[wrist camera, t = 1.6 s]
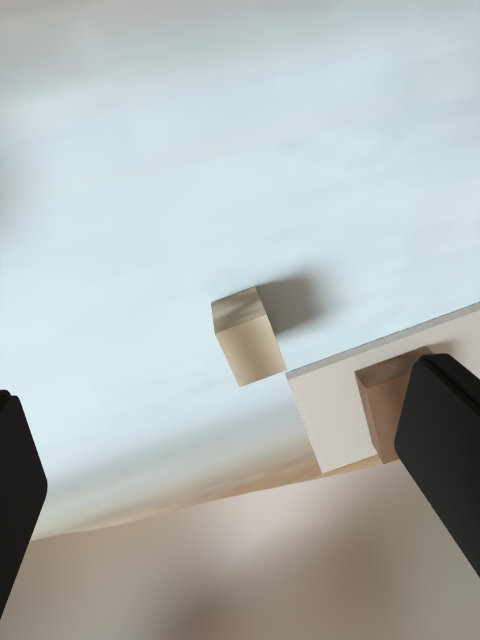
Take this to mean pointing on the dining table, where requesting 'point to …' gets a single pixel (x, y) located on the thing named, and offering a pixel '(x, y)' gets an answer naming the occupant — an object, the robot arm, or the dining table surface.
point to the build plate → (342, 390)
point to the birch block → (247, 337)
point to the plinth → (386, 398)
